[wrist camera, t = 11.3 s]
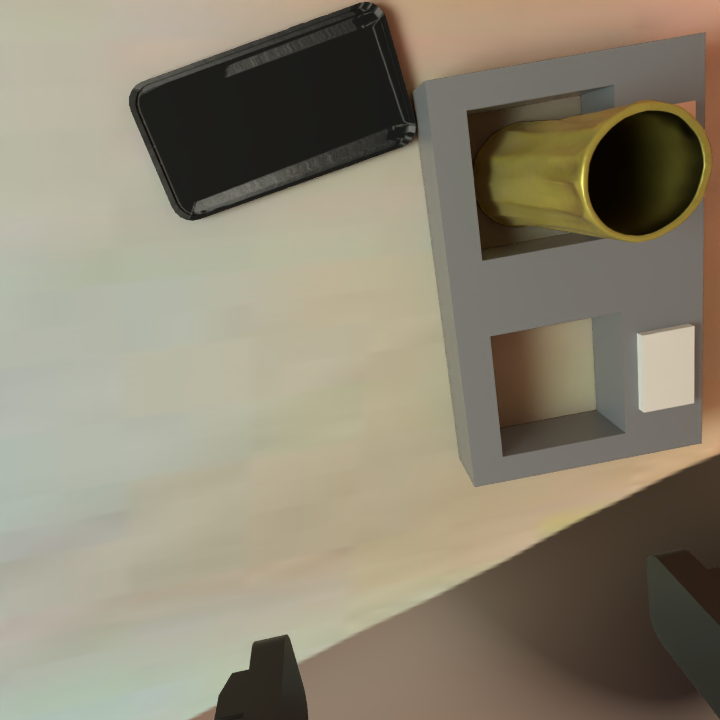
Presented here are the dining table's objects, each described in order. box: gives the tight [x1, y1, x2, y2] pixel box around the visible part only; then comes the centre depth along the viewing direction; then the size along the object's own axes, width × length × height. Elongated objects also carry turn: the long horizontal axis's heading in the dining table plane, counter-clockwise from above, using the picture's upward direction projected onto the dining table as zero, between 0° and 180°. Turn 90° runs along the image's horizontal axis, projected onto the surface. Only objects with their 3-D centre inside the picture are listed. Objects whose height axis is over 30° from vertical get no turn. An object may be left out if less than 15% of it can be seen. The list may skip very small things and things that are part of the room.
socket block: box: [412, 33, 705, 487], centre depth 36 cm, size 24×15×5 cm, turn 10°
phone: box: [129, 2, 416, 221], centre depth 34 cm, size 8×1×15 cm
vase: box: [473, 100, 712, 243], centre depth 29 cm, size 6×6×14 cm
